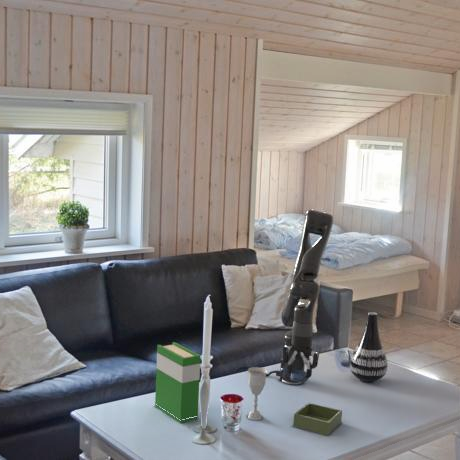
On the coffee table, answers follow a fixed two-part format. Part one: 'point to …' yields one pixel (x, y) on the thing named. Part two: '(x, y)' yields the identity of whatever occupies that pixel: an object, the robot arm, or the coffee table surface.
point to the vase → (369, 354)
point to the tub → (317, 418)
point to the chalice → (256, 388)
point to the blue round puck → (298, 376)
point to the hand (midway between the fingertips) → (299, 376)
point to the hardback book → (177, 381)
